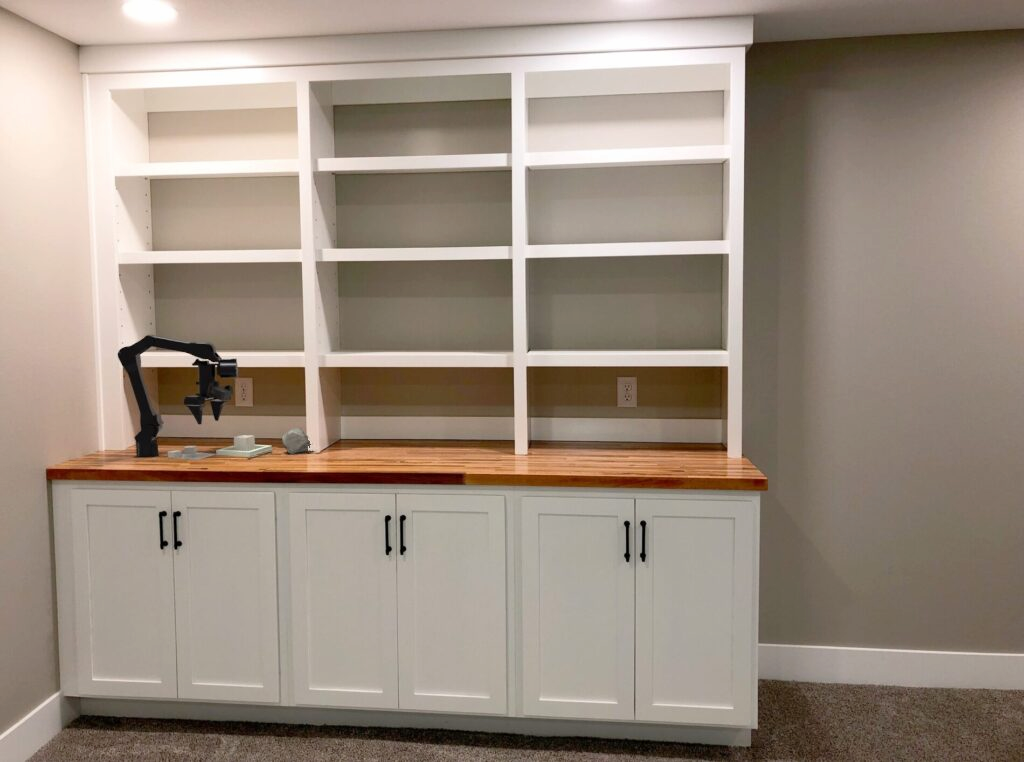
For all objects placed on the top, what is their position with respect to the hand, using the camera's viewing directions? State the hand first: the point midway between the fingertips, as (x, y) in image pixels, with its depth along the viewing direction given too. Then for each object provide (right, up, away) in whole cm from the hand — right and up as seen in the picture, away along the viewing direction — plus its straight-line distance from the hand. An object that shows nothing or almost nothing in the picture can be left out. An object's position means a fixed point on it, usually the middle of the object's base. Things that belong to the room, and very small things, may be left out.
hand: (208, 422), depth 295 cm
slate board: (-4, -12, -4) cm, 13 cm away
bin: (+12, -12, +3) cm, 17 cm away
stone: (+29, -11, +7) cm, 32 cm away
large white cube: (+12, -11, +3) cm, 16 cm away
